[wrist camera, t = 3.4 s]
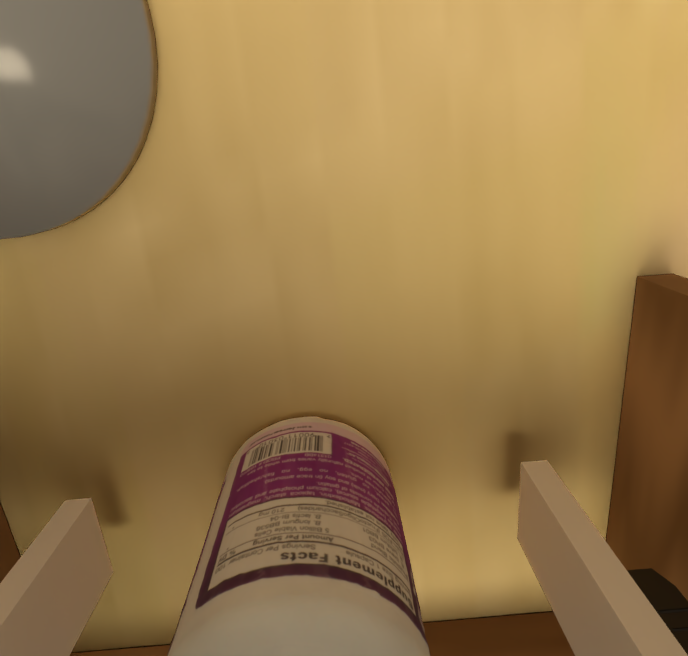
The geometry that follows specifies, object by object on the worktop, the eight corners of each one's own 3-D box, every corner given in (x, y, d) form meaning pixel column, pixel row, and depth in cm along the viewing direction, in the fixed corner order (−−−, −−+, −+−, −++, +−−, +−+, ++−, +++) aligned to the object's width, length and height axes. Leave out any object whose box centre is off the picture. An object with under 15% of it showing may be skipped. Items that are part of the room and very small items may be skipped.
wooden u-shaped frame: (622, 625, 18) (753, 833, 13) (37, 676, 18) (-94, 907, 13) (672, 273, 14) (905, 352, 8) (-98, 339, 14) (-389, 462, 8)
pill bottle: (344, 569, 17) (362, 1032, 8) (202, 514, 16) (40, 967, 7) (422, 449, 16) (553, 852, 7) (270, 381, 15) (177, 740, 6)
